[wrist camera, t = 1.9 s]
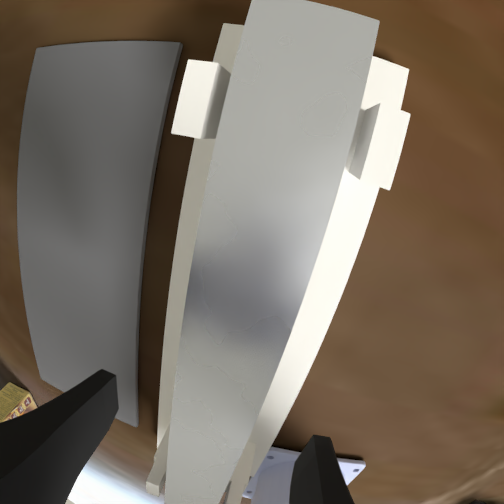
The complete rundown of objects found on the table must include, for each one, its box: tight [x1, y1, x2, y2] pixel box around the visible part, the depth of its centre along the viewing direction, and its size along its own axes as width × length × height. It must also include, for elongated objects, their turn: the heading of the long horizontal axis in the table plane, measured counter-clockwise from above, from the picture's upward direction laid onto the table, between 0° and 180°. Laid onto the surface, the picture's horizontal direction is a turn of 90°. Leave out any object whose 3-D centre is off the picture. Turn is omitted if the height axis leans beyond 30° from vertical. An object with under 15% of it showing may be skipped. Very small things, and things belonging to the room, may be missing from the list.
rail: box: [164, 0, 379, 504], centre depth 11 cm, size 26×3×2 cm, turn 167°
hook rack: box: [146, 23, 410, 504], centre depth 14 cm, size 28×8×6 cm, turn 167°
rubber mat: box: [17, 41, 183, 427], centre depth 17 cm, size 26×10×1 cm, turn 167°
